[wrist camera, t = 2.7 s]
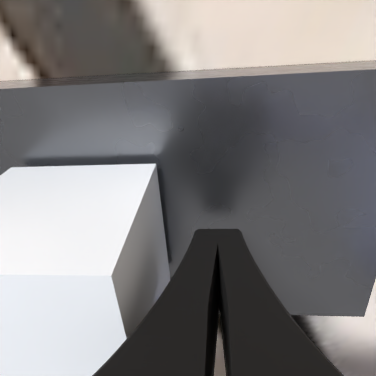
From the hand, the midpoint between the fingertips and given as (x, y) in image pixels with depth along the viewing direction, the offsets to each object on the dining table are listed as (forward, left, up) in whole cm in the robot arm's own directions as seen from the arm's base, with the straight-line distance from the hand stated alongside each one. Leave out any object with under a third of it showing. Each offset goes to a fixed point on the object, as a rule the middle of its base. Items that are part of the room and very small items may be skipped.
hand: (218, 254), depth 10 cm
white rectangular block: (-1, +4, -1) cm, 5 cm away
